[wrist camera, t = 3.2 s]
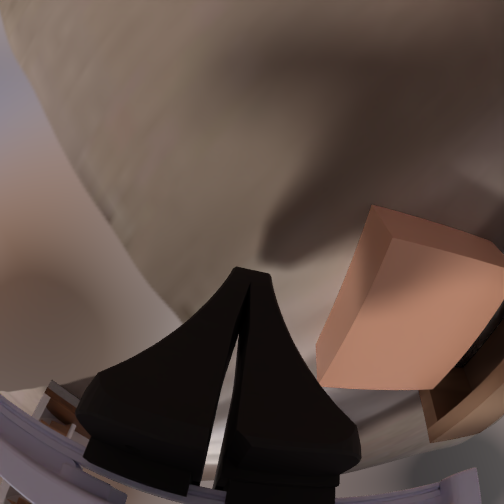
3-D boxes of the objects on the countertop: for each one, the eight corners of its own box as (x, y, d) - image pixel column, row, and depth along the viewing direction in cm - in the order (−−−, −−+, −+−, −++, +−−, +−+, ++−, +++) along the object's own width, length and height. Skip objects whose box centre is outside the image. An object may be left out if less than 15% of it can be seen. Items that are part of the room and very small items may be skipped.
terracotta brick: (420, 350, 15) (432, 389, 12) (315, 339, 15) (317, 386, 12) (487, 237, 10) (519, 272, 8) (369, 200, 10) (392, 237, 8)
